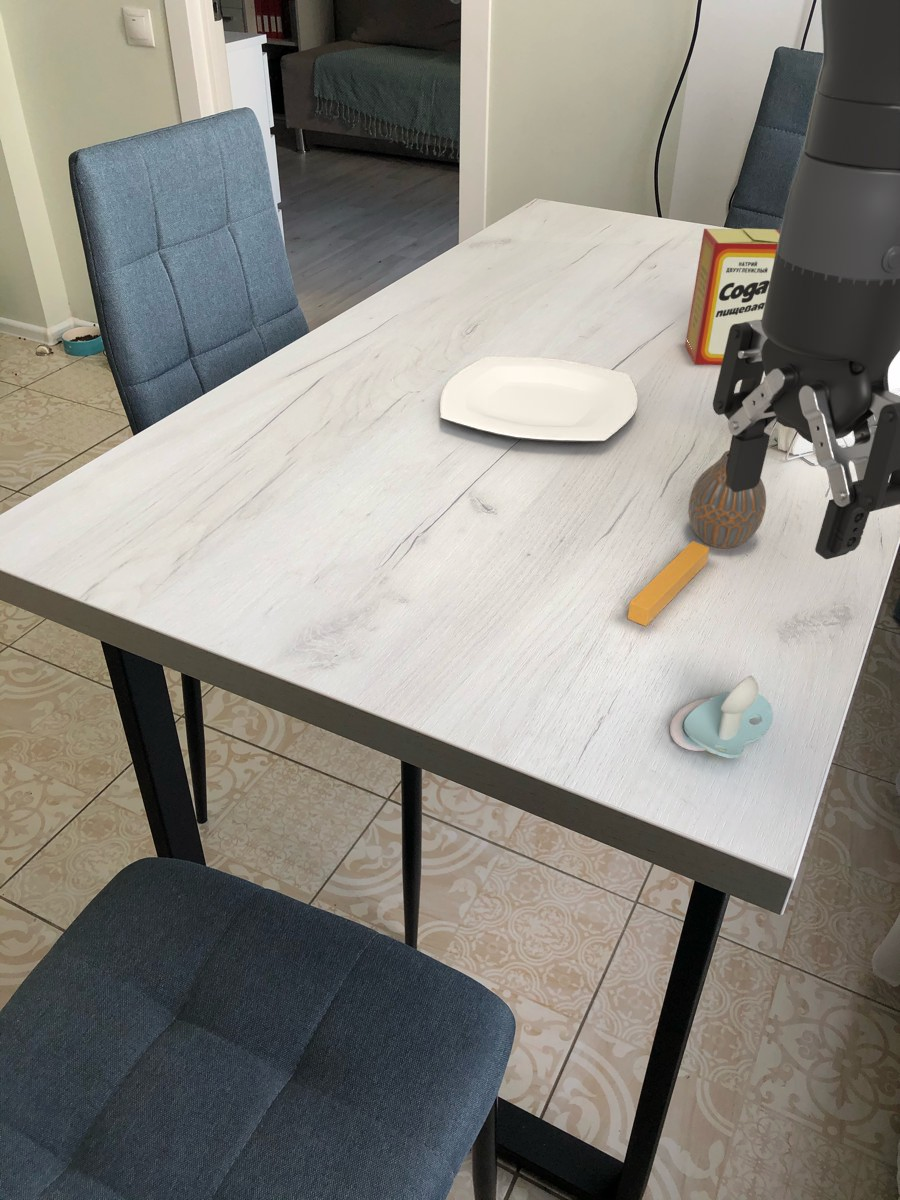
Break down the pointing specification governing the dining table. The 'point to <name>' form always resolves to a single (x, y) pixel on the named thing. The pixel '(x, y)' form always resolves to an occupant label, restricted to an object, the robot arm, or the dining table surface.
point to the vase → (724, 508)
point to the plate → (539, 399)
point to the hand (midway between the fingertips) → (784, 518)
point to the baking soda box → (728, 287)
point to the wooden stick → (668, 583)
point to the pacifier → (723, 721)
